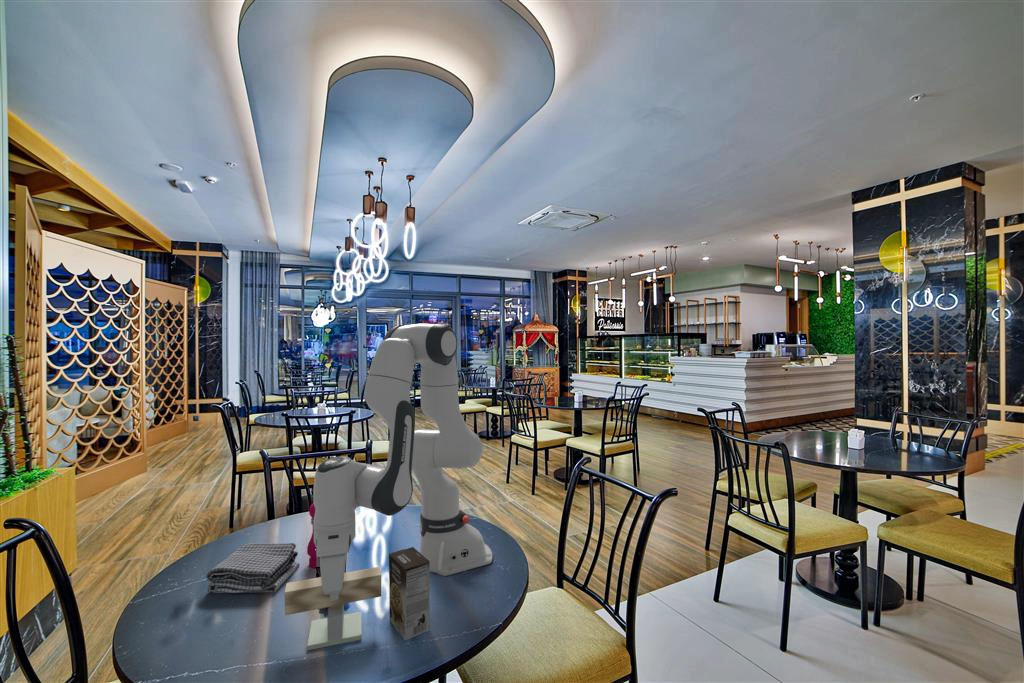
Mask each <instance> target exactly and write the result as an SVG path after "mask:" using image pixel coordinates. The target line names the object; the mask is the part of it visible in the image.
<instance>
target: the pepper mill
mask: <svg viewBox="0 0 1024 683" xmlns="http://www.w3.org/2000/svg"><path fill="white" fill-rule="evenodd" d="M308 514H309V516H310V517H311V518H310V521H311V522H310V524H311V525H312V533H311V536H310V539H309V542H308V543H307V550H306V553H307V555H308V557H309V558H308V566H309V567H310V568H313V569H317V568H316V551H315V549H316V546H315V543H314V516H315V506H314V502H312V503H311V504H310V507H309V510H308Z"/></svg>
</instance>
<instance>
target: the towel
mask: <svg viewBox="0 0 1024 683" xmlns="http://www.w3.org/2000/svg"><path fill="white" fill-rule="evenodd" d="M296 547H297V544H296V543H294V542H288V543H287V542H285V543H284V542H283V543H273V542H272V543H270V542H265V543H261V542H260V543H259V542H258V543H257V542H256V543H255V542H249V543H246V544H244V545H242V546H240V547H238V548H237V549H236V550H234V551H232V553H231V554H229V555H227V557H226V558H224V559H223V560H222V561H221V562H219V563H218V564H217V565H215V566H214V567H212V568H211V569H210V570H209V571H208V572H207V574H206V575H205V578H206V579H207V580H208V581H209V582H210V583H209V584H208V587H207V590H206V591H207V592H210V593H213V594H243V593H245V594H249V593H250V594H251V593H270V594H273V593H275V592H277V590H279V589H280V588H281V587H282V585H283V584H284V583H285V581H287V580H288V578H290V576H291V575H292V574H294V572H295V571H296V570H297V569H298V568H300V567H299V566H300V562H298V561H297V560H296V558H297V556H298V554H299V552H298V551H295V549H296Z"/></svg>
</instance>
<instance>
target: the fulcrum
mask: <svg viewBox="0 0 1024 683" xmlns="http://www.w3.org/2000/svg"><path fill="white" fill-rule="evenodd" d="M344 605H345V604H341V605H336V606H331V607H328V609H327V611H328V612H327V617H325V618H318V619H314V620H311V623H310V629H309V635H308V638H307V639H308V640H307V644H306V645H307V647H306V649H307V651H310V650H311V651H312V650H316V649H320V648H321V649H322V648H326V647H332V646H336V645H340V644H345V643H350V642H351V643H352V642H357V641H361V640H362V639H363V638H362V634H363V633H362V624H363V623H362V620H363V618H362V611H356V612H351V613H344V612H345V611H344V608H345V607H344Z"/></svg>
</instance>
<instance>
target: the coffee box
mask: <svg viewBox="0 0 1024 683" xmlns="http://www.w3.org/2000/svg"><path fill="white" fill-rule="evenodd" d="M430 573H431V572H430V561H429V560H428V559H426V558H425V557H424V556H423V555H422V554H421V553H419V550H417V549H416V548H415V547H414V546H412V547H408V548H403V549H400V550H397V551H393V552H390V553H389V554H388V579H389V581H388V582H389V585H388V586H389V588H388V589H389V590H388V592H389V593H388V594H389V596H388V597H389V599H388V600H389V622H390V623H391V624H392V626H393V627H394V628H395V629H396V631H397V632H398V633H399V635H400V636H401V637H402V639H403V640H404V641H408V640H410V639H413V638H415V637H417V636H419V635H422V634H424V633H426V632H429V631H430V629H431V628H430V602H431V600H430V598H431V596H430V595H431V594H430V593H431V592H430V590H431V587H430V586H431V585H430V584H431V583H430V580H431V579H430V577H431V574H430Z"/></svg>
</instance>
